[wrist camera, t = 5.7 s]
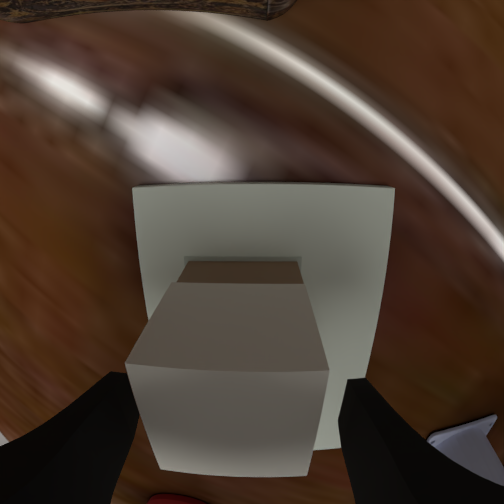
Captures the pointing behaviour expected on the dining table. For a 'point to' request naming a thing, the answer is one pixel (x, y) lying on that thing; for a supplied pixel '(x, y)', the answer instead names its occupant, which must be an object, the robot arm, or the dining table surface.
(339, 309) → the pale green flat block
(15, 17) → the book
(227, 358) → the cream cube
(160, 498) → the canned food
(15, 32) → the dining table surface
